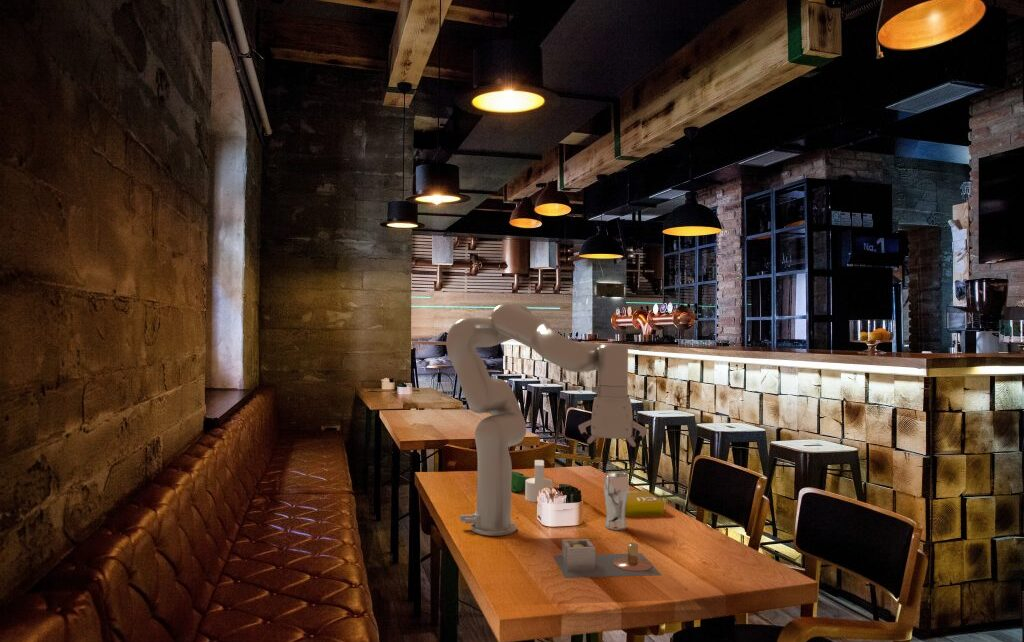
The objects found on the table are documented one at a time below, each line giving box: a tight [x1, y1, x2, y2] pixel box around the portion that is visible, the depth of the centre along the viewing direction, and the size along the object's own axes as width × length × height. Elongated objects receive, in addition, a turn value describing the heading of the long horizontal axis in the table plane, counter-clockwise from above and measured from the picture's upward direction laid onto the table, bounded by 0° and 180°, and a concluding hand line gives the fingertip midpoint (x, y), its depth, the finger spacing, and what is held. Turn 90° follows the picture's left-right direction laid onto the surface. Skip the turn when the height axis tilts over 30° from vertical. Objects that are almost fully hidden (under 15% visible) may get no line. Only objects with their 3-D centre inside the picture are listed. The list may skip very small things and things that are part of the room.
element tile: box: [605, 490, 665, 518], centre depth 202 cm, size 15×15×5 cm
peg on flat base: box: [613, 542, 653, 571], centre depth 150 cm, size 9×9×4 cm
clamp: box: [511, 470, 531, 493], centre depth 226 cm, size 12×6×9 cm, turn 19°
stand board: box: [553, 544, 662, 579], centre depth 149 cm, size 22×14×6 cm, turn 97°
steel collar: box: [561, 538, 596, 571], centre depth 148 cm, size 6×6×5 cm
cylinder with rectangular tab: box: [524, 459, 554, 503], centre depth 213 cm, size 9×9×12 cm
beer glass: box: [603, 471, 630, 531], centre depth 183 cm, size 7×7×15 cm
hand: (611, 460), depth 162 cm, fingers open, 9 cm apart
